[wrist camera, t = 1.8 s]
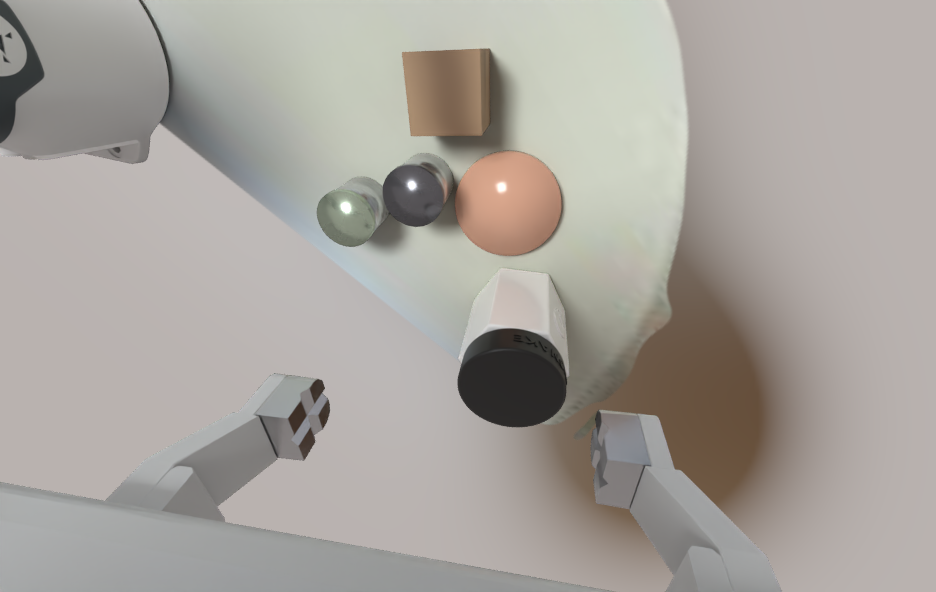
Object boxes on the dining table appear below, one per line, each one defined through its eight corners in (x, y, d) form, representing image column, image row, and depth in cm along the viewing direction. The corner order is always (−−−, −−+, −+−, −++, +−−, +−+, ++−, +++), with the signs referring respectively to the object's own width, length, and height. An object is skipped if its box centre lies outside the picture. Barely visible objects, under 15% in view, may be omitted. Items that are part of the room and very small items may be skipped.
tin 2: (404, 206, 36) (387, 225, 32) (397, 151, 33) (378, 165, 29) (455, 207, 35) (445, 227, 31) (452, 151, 33) (440, 165, 29)
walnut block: (428, 124, 32) (411, 136, 28) (422, 51, 29) (402, 52, 25) (490, 123, 31) (481, 135, 27) (489, 48, 28) (480, 48, 24)
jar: (574, 326, 40) (584, 421, 30) (501, 347, 43) (487, 439, 33) (541, 251, 36) (540, 330, 26) (463, 280, 39) (435, 361, 29)
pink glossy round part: (459, 249, 37) (457, 253, 36) (454, 150, 32) (451, 152, 32) (556, 253, 36) (556, 257, 35) (566, 150, 31) (566, 152, 30)
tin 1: (346, 225, 38) (324, 245, 34) (336, 175, 35) (310, 190, 31) (394, 227, 37) (377, 247, 33) (387, 175, 35) (367, 191, 31)
